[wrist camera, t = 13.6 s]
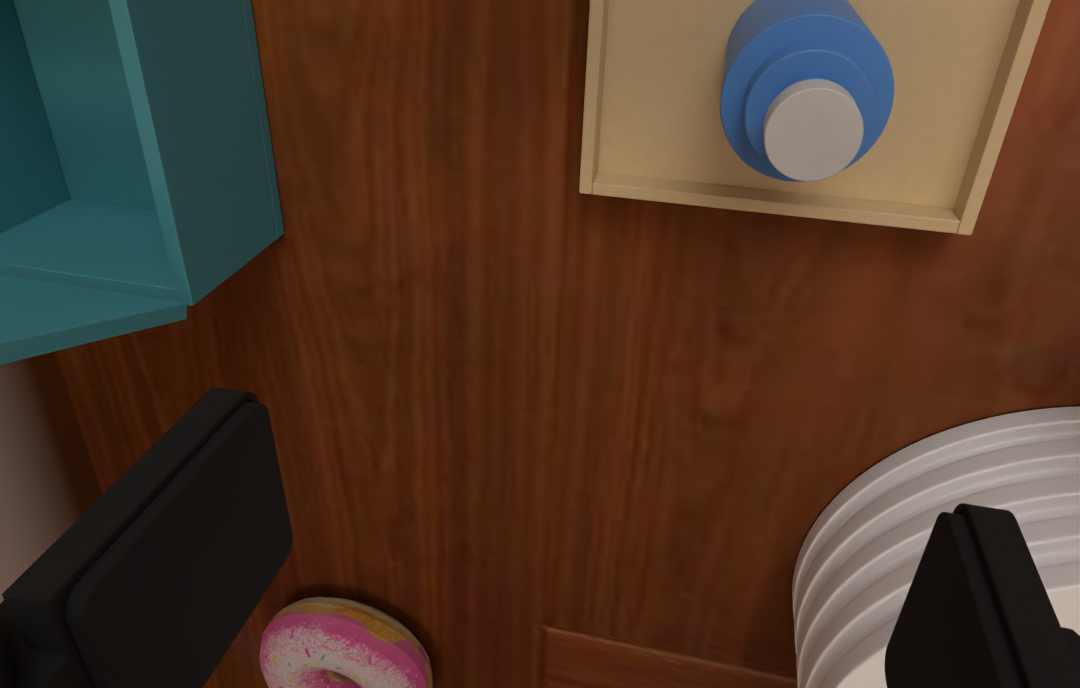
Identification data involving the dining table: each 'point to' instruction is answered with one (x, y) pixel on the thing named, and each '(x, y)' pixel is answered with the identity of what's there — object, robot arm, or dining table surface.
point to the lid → (71, 316)
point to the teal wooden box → (133, 145)
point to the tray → (852, 194)
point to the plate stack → (905, 527)
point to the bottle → (804, 88)
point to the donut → (341, 648)
